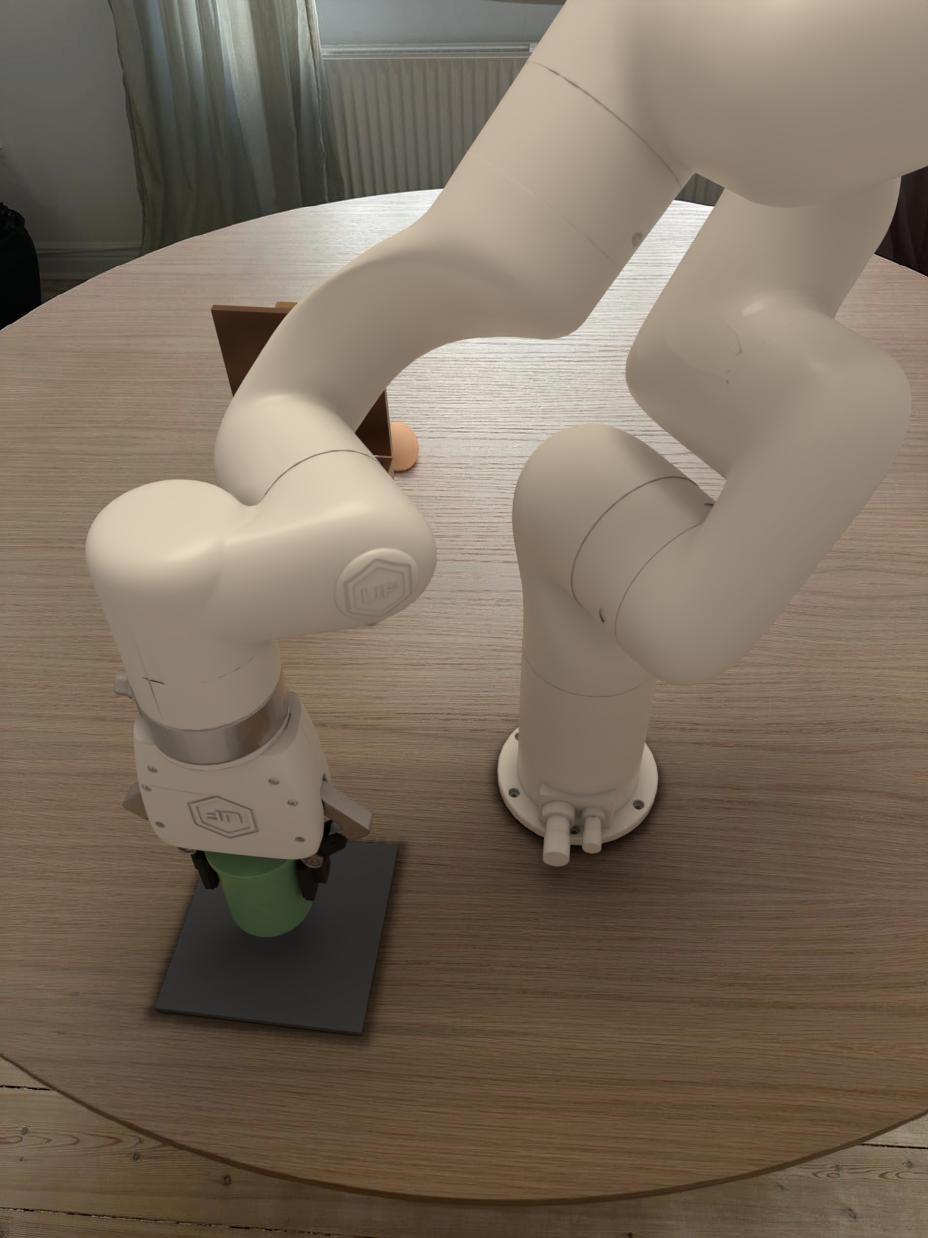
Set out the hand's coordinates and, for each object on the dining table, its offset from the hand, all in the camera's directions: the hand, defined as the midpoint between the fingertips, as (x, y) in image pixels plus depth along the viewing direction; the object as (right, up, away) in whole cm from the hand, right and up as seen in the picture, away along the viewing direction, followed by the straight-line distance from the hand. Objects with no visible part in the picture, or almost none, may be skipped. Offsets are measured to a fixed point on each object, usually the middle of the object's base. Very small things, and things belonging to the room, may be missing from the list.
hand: (265, 874), depth 65 cm
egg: (+6, +33, +43) cm, 55 cm away
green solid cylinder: (0, -2, +2) cm, 3 cm away
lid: (-1, +38, +25) cm, 46 cm away
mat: (0, -5, +5) cm, 7 cm away
